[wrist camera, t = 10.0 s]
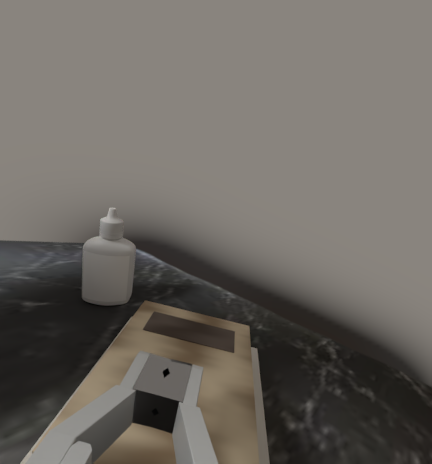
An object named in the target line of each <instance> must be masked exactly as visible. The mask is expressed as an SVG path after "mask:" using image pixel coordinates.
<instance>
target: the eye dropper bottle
mask: <svg viewBox="0 0 432 464" xmlns="http://www.w3.org/2000/svg"><path fill="white" fill-rule="evenodd" d="M123 224H124V221H123V220H122V219H120V218H118V216H117V210H116V208H109V212H108V215H107V217H104V218H102V219H100V236H97V237H93V238H91V239H89V240H88V241H87V242H86V243H85V244H84V246H83V256H82V299H83V300H84V301H86V302H89V303H92V304H96V305H104V306H112V305H121V304H125V303H127V302H128V301H129V299H130V297H131V294H132V287H133V276H134V265H135V253H136V247H135V245H134V244H133V243H132V242H130V241H129V240H127V239H125V238H122V237H123Z"/></svg>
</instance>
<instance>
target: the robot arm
mask: <svg viewBox="0 0 432 464" xmlns="http://www.w3.org/2000/svg"><path fill="white" fill-rule="evenodd" d="M202 374H203V367H201V366H197V365H192V364H190V363H186V362H182V361H178V360H174V359H168V358H165V357H162V356H158V355H155V354H151V353H148V352H144V351H140V352H139V353H138V354H137V356H136V357H135V359H134V361H133V363H132V364H131V366H130V368H129V370H128V371H127V373H126V375H125V377H124V378H123V380H122V382H121V384H120V385H115V386H114V387H112V388H111V389H109V390H108V391H106V392H105V393H103V394H102V395H101V396H99V397H98V398H96V399H95V400H93V401H92V402H90V403H89V404H88V405H86V406H85V407H83V408H82V409H80V410H79V411H77V412H76V413H75V414H73V415H72V416H70V417H69V418H67V419H66V420H64V421H63V422H62V423H60V424H59V425H57V426H56V427H54V428H53V429H51V430H50V431H49V432H48V434H47V435H46V436H45V438H44V439H43V440H42V442H41V443H40V444H39V446H38V447H37V448H36V450H35V451H34V452H33V454H32V455H31V457H30V458H29V459H28V461H27V462H26V463H25V464H93V463H94V462H95V461H96V460H97V459H98V458H99V457H100V456H101V455H102V454H103V453H104V452H105V451H106V450H107V449H108V448H109V447H110V446H111V445H112V444H113V443H114V442H115V441H116V440H117V439H118V438H119V437H120V436H121V435H122V434H123V433H124V432H125V431H126V430H127V429H128V428H129V427H130V426H131V425H132V423H136V424H140V425H144V426H148V427H153V428H155V429H158V430H162V431H165V432H168V433H171V434H172V438H173V444H174V450H175V457H176V463H177V464H218V461H217V458H216V455H215V452H214V449H213V446H212V443H211V440H210V437H209V434H208V431H207V427H206V424H205V421H204V418H203V415H202V412H201V409H200V408H199V407H197V402H198V396H199V391H200V385H201V380H202Z"/></svg>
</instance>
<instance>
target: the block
mask: <svg viewBox="0 0 432 464" xmlns="http://www.w3.org/2000/svg"><path fill="white" fill-rule="evenodd" d="M140 351H144V352H148V353H151V354H155V355H158V356H162V357H165V358H168V359H174V360H178V361H182V362H186V363H190V364H192V365H197V366H201V367H203V374H202V380H201V385H200V391H199V396H198V402H197V407H199V408H200V409H201V412H202V415H203V418H204V421H205V424H206V427H207V431H208V434H209V437H210V440H211V443H212V446H213V449H214V452H215V455H216V458H217V461H218V464H259V453H258V439H257V425H256V411H255V397H254V383H253V369H252V355H251V342H250V328H249V326H247V325H243V324H239V323H235V322H231V321H227V320H223V319H219V318H215V317H211V316H207V315H202V314H198V313H194V312H190V311H186V310H182V309H178V308H174V307H170V306H166V305H162V304H158V303H154V302H150V301H146V300H145V301H144V302H143V304H142V305H141V306H140V308H139V309H138V310H137V312H136V313H135V314H134V316H133V317H132V318H131V320H130V321H129V322H128V324H127V325H126V326H125V328H124V329H123V330H122V332H121V333H120V334H119V336H118V337H117V338H116V340H115V341H114V342H113V344H112V345H111V346H110V348H109V349H108V350H107V352H106V353H105V354H104V356H103V357H102V358H101V360H100V361H99V362H98V364H97V365H96V366H95V368H94V369H93V370H92V372H91V373H90V374H89V376H88V377H87V378H86V380H85V381H84V382H83V384H82V385H81V386H80V388H79V389H78V390H77V392H76V393H75V394H74V396H73V397H72V398H71V400H70V401H69V403H68V404H67V405H66V407H65V408H64V409H63V411H62V412H61V413H60V415H59V416H58V417H57V419H56V420H55V421H54V423H53V424H52V425H51V427H50V428H49V429H48V431H47V432H46V433H45V435H44V436H43V437H42V439H41V440H40V441H39V443H38V444H37V445H36V447H35V448H34V449H33V451H32V454H33V452H34V451H35V450H36V448H37V447H38V446H39V444H40V443H41V442H42V440H43V439H44V438H45V436H46V435H47V434H48V432H49V431H50V430H51V429H53V428H54V427H56V426H57V425H59V424H60V423H62V422H63V421H64V420H66V419H67V418H69V417H70V416H72V415H73V414H75V413H76V412H77V411H79V410H80V409H82V408H83V407H85V406H86V405H88V404H89V403H90V402H92V401H93V400H95V399H96V398H98V397H99V396H101V395H102V394H103V393H105V392H106V391H108V390H109V389H111V388H112V387H114V386H115V385H120V384H121V382H122V380H123V378H124V377H125V375H126V373H127V371H128V370H129V368H130V366H131V364H132V363H133V361H134V359H135V357H136V356H137V354H138V353H139V352H140ZM93 464H177V463H176V457H175V450H174V444H173V438H172V434H171V433H168V432H165V431H162V430H158V429H155V428H153V427H148V426H144V425H140V424H136V423H132V425H131V426H130V427H129V428H128V429H127V430H126V431H125V432H124V433H123V434H122V435H121V436H120V437H119V438H118V439H117V440H116V441H115V442H114V443H113V444H112V445H111V446H110V447H109V448H108V449H107V450H106V451H105V452H104V453H103V454H102V455H101V456H100V457H99V458H98V459H97V460H96V461H95V462H94V463H93Z"/></svg>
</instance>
